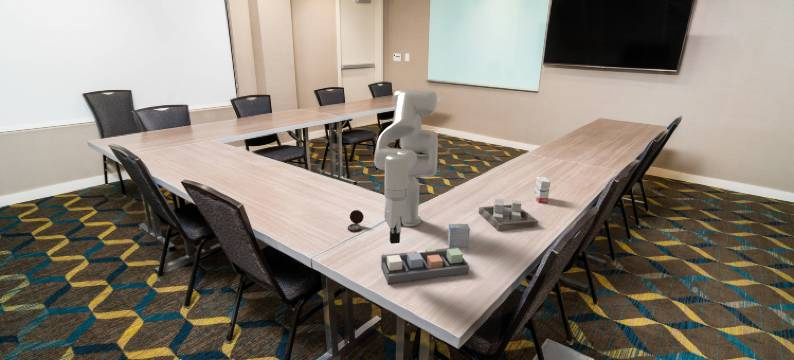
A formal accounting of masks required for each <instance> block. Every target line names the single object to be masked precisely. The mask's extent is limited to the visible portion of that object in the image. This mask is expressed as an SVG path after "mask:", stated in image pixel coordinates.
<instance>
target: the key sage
mask: <svg viewBox="0 0 794 360" xmlns="http://www.w3.org/2000/svg"><path fill="white" fill-rule="evenodd" d="M458 248H459V247H458ZM458 248H456V249H447V256H446V257H447V259H448V260H449V262H450V263H459V262H462V259H463V258H464V254H463V252H462V251H461V250H460V248H459V249H458Z"/></svg>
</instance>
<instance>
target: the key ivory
mask: <svg viewBox="0 0 794 360" xmlns="http://www.w3.org/2000/svg"><path fill="white" fill-rule="evenodd" d="M387 266H388V268H389V270H390V271H391V270H399V269H402V260H401V258H400V256H399V255H392V256H387Z"/></svg>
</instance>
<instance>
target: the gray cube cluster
mask: <svg viewBox="0 0 794 360" xmlns="http://www.w3.org/2000/svg"><path fill="white" fill-rule="evenodd" d="M493 202H494V203H493V206H494V210H493V213H492V216H493V217H494V218H495V219H496V220H497V221H498V222H500V223H503V221H504V218H505V219H510V222H515V221H521V219H522V217H521V214H520V210H521V208H522V201H521V200H512V201H511V205H512V207H511V208H505V207H504V204H505V203H504V199H503V198H494V201H493Z"/></svg>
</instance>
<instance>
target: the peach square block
mask: <svg viewBox="0 0 794 360" xmlns="http://www.w3.org/2000/svg"><path fill="white" fill-rule="evenodd" d="M427 265H428V266H429V268H430V269H436V268H442V267H443V260H442V259H441V257H440V256H439V255H430V256H427Z"/></svg>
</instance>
